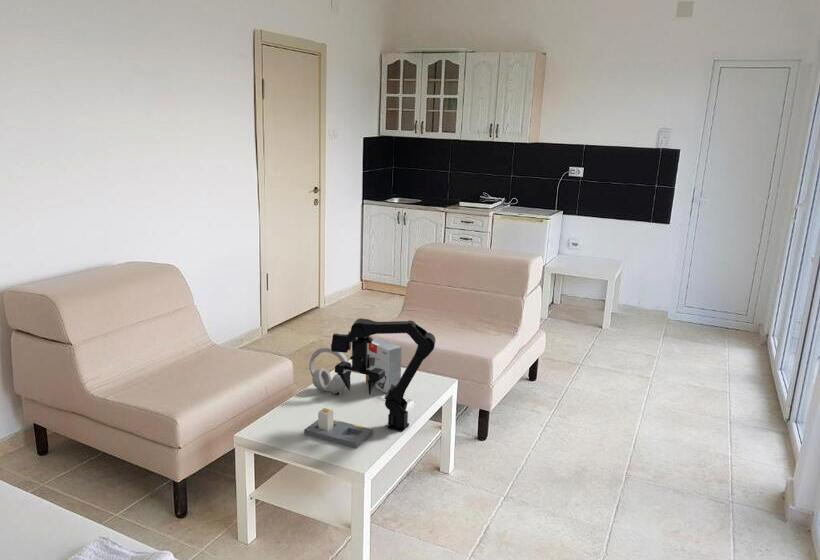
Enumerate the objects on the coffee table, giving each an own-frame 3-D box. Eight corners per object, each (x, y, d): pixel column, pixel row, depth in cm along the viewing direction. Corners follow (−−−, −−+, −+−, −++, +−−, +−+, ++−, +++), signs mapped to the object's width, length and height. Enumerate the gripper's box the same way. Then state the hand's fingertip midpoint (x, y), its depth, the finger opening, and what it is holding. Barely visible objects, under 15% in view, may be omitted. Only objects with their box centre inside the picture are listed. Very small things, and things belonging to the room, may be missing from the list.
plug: (333, 430, 239) (333, 408, 237) (327, 434, 235) (327, 413, 233) (324, 427, 240) (324, 406, 238) (318, 432, 237) (318, 410, 235)
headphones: (305, 391, 273) (304, 346, 268) (315, 384, 280) (315, 341, 275) (344, 399, 265) (344, 354, 261) (354, 392, 273) (354, 348, 268)
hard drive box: (364, 383, 283) (365, 340, 278) (378, 379, 288) (379, 336, 283) (387, 394, 272) (388, 349, 267) (401, 390, 277) (402, 346, 272)
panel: (372, 434, 236) (372, 428, 236) (356, 448, 226) (356, 442, 225) (322, 421, 246) (322, 416, 245) (304, 434, 235) (304, 428, 234)
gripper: (392, 350, 241) (391, 389, 244) (349, 342, 248) (349, 380, 252) (378, 359, 231) (377, 400, 235) (333, 351, 239) (334, 390, 242)
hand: (359, 392), depth 241 cm, fingers open, 9 cm apart
